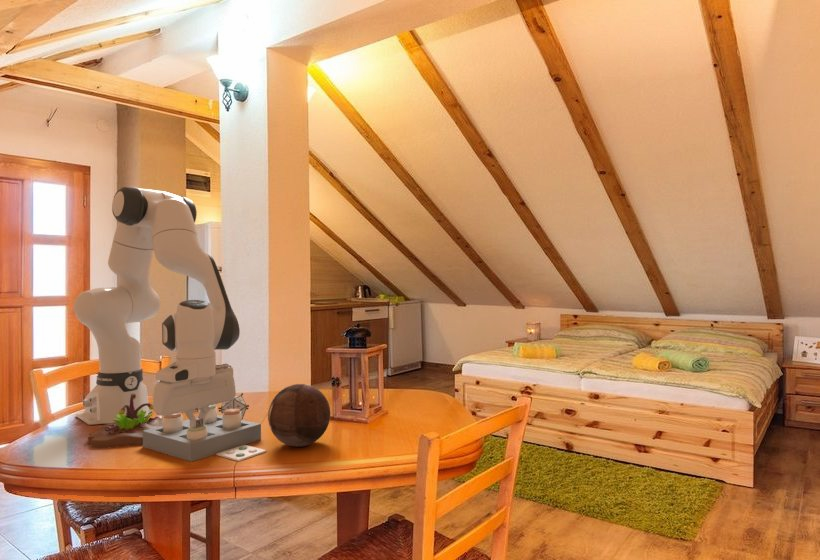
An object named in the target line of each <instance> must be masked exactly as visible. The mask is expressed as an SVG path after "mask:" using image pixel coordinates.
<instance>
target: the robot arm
mask: <svg viewBox="0 0 820 560" xmlns="http://www.w3.org/2000/svg"><path fill="white" fill-rule="evenodd" d="M111 211H112V215H113V216H114V218H115V220H116V221H117V222H118V223H117V225H116V229H115V231H114V235H113V239H112V244H111V248H110V250H109V251H110V253H109V255H108V256H109V257H108V262H107V265H108V268H109V269H110V271H111V272H112V273H113V274H115V275H116V276H118V285H117V286H115V287H113V286H112V287H96V288H92V289H88V290H85V291H82V292H80V293H78V295H77V296H76V298H75V300H74V303H73V313H74V315H75V317H76V319H77V320H78V322H79V323H81V324H82V325H84V326H85V327H87V329H89V331H90V332H91V333H92V335H93V338H94V339H95V341H96V345H97V349H98V365H99V369H98V370H99V371H98V372H96V382H95V383H96V385H95V386H94V387H93V388H92V390H91V391H90V392H89V393H88V394H86V396H85V398H84V399H83V400H82V407H83V408H84V410H81V411H78V412H76V414H75V417H76V418H78V419H79V420H81V421H82V422H84V423H85V424H87V425H88V426H91V425H101V424H103V425H106V424H110V423H114V422H115V421H113V420H112V419H115V420H119V419H118V418H117V417H116V416H117V414H118V413H119V411H120V410H121V409H122V408H123V407H124V406H125V405H128V406H130V398H131V394H133V393H134V394H136V399H133V402H134V403H133V404H134V408H135V409H137V408H138V407H139V406H141V405H142V404H146V403H149V398H148V396H149V395H148V389H147V385H146V384H144V383H143V381H144V372H143V371H144V370H143V368H142V350H141V349H142V348H141V347H142V346H141V343H140V342H139V340H138V339H136V338H134V337H132V336H130V334H129V333H128V331H127V328H126V324H133V323H140V322H141V323H142V322H145V321H147V320H150V319H153V318H154V317H156V316H157V315H158V313H159V312H160V308H161V299H160V296H159V294H158V293H157V291H155V289H153V287H152V285H151V284H152V282H151V279H150V271H151V266H152V265H151V264H152V260H153V256H155V258H156V260H157V262H158V263H159V264H160V265H161V266H163V267H164V268H165V269H166V270H169V271H170V272H171V271H172V272H174V273H177V274H180V275H184V276H186V277H189V278H192V279H194V280H196V281H197V282H199V283H200V284H201V285H202V286H203V287H204V289H205V293H206V295H207V298H208V301H206V300H202V299H201V300H200V299H190V300H184V301H180V302H179V303H178V304H177V306H176V312H175V313H173V314H170V315H169V316H167V318H165V319H164V320H163V321H162V323H161V331H162V332H161V333H162V334H161V335H162V336H161V339H162V340H161V341H162V345H163V346H165V347H166V349H169V350H170V351H173V352H176V355H175V361H174V362H173V363H170V364H169V365H167V366H166V367H163V368H161V369H159V370H158V371H156V372H155V379H156V380H157V381H158V382H157V383H156V384H155V385H154V388H153V389H154V390H153V396H152V397H153V399H152V404H153V409H152V410H150V409H149V408H148V406H143V407H142V408H141V409H140V410H139V411H141V410H144V411H146V414H145V416H144V418H146V417H147V416H148V415H149V414H151V413H152V412H154V413H155V414H156V415H158V416H161V417H163V416H167V415H172V414H176V413H180V412H181V413H184V414H185V416H186V417H187V420H188V419H189V420H190V427H191V428H196V427H199V426H203V425H205V417H206V415H207V413H208V411H209V406H210V405H214V404H215V405H219V404H223V402H227V401H231V400H233V399H234V398H235V396H237V391H236V390H237V389H236V382H235V378H234V367H232V365H230V364H228V363H223V364H216V363H217V361H216V360H217V359H216V358H217V357H216V355H217V354H216V351H215V350H217V351H219V350H221V351H222V350H224V351H225V350H229V349H230V348H231V347H232V346H233V345H235V344H236V342H237V341H238V340H239V338H240V334H241V333H240V332H241V331H240V324H239V321H238V318H237V316H236V314H235V312H234V310H233V308H232V306H231V303H230V300H229V297H228V294H227V291H226V289H225V288H226V287H225V286H224V285H225V284H224V282H223V279H222V276H221V274H220V271H219V268H218V265H217V263H216V261H215V260H214V258H213V256H212V255H210V254H208V253H206V251H205V250H204V249H203V247H202V246H201V245H200V243H199V239H198V233H197V230H196V223H195V222H196V221H197V220H196V219H197V213H198V212H197V207H196V205H195V203H194V201H193V200H191V199H190V198H187V197H185V196H183V195H176V194H174V193H170V192H167V191H163V190H155V189H149V188H138V187H136V186H122V187H121V188H120V189H118V190H117V191H116V192H115V194H114V195H113V200H112V205H111ZM197 409H199V410H201V411H200V414H199V413H198V416H197V417H198V418H196V416H195V414H196V410H197ZM139 411H138V412H139ZM126 413H127V409H126V408H125V413H124V415H126Z"/></svg>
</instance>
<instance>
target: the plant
mask: <svg viewBox="0 0 820 560" xmlns="http://www.w3.org/2000/svg"><path fill="white" fill-rule="evenodd" d="M133 399H136V394H134V393H133V394H131V398H130V406H128V405H125V406H124V407H123V408H122V409H121V410H120V411H119V413H118V414H117V416H116V417H117V418H118V419H119V420H115V419H112V420H113V421H115V422H114V423H107V424H103V425H101V426H99V427H98V428H97V429H96V430H95V431H94V432H91V433H89V435H88V436H87V445H90V447H91V448H94V449H109V448H108V447H111V448H116V446H119V447H128V446H127V445H130V446H143V431H144V430H148V429H152V428H156V427H160V426H163V417H160V416H155V417H153V415H154V413H152V412H151V413H148V415H147V416H146V417H144V416H145V414H146V411H144V410H141V411H139V410H140V409H141V408H142V407H143V406H148V408H149V409H150V410H152V411H153V403H150V402H148V403H146V404H142V405H141V406H139V407H138V408H137V409H135V408H134V404H133V403H134V402H133ZM125 408H126V409H127V413H126V415H124V413H125ZM138 411H139V412H138Z"/></svg>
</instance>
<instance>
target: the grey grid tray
mask: <svg viewBox="0 0 820 560" xmlns="http://www.w3.org/2000/svg"><path fill="white" fill-rule="evenodd" d="M195 418H198V416H197V417H196V416H195ZM241 422H242V427H239V428H236V429H232V430H227V429H223V426H222V414H217V421H216V422H212V423H208V424H205V425H206V427H207V437H204V438H201V439H197V440H194V441H193V440H189V439H187V429H188V427H189V426H190V420H189V419H188V418H187V419H185V420H184V419H183V430H182V431H178V432H174V433H170V434H167V433H164V432H163V426H160V427H156V428H152V429H148V430H144V431H143V445H142V448H145V449H149V450H151V451H154V452H158V453H161V454H165V455H167V454H168V456H171V457H174V458H177V459H180V458H181V459H180V460H184V461H188V462H195V461H198V460H201V459H204V458H206V457H207V458H208V457H210V456H213V455H217V453H220V452H223V451H226V450H229V449H232V448H236V447H239V446H242V445H248V444H252V443H254V442H258V441H261V440H262V424H261V423H259V422H253V421H249V420H244V419H242V420H241Z"/></svg>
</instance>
